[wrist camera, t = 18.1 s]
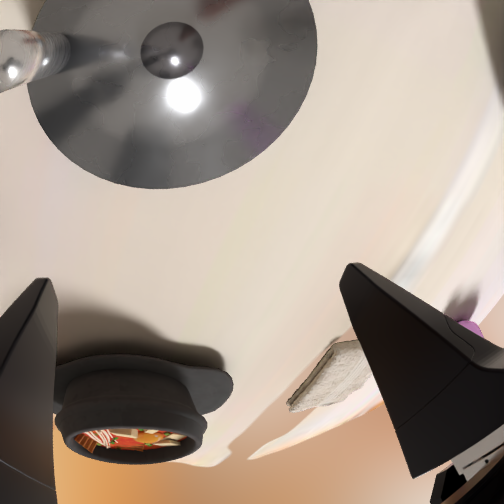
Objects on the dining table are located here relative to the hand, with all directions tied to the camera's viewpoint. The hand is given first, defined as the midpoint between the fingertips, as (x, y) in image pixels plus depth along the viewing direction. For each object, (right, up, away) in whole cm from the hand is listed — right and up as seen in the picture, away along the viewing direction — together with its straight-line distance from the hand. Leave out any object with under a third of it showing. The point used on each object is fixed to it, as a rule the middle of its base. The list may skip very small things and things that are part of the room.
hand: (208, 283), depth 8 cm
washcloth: (+14, -17, +36) cm, 42 cm away
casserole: (-13, -14, +23) cm, 30 cm away
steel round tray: (-3, +12, +5) cm, 13 cm away
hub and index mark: (-3, +16, +2) cm, 16 cm away
